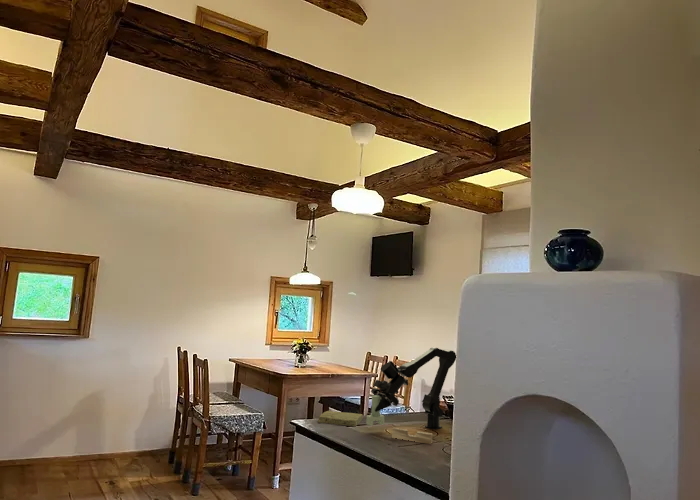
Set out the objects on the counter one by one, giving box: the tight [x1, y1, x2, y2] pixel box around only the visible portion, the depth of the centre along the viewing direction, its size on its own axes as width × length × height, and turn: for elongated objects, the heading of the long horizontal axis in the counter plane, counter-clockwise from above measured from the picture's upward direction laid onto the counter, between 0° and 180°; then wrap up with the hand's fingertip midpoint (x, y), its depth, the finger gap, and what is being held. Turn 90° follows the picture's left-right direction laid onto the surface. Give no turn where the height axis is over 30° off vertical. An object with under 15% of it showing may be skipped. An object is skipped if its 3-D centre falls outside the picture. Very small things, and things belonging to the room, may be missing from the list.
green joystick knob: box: [365, 395, 385, 427], centre depth 252 cm, size 8×4×13 cm, turn 115°
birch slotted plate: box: [391, 427, 433, 445], centre depth 237 cm, size 2×18×4 cm, turn 64°
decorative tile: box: [317, 410, 364, 427], centre depth 271 cm, size 19×20×4 cm
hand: (373, 410), depth 251 cm, fingers closed on green joystick knob, 4 cm apart
